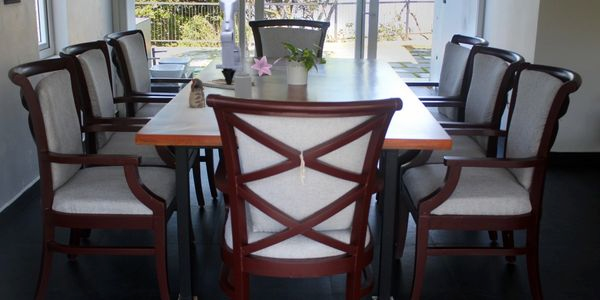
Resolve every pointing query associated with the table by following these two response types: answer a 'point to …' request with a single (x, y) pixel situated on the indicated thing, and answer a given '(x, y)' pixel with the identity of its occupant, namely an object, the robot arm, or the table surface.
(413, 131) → the table surface
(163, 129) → the table surface
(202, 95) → the figurine
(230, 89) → the underlay mat
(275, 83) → the table surface
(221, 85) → the plank
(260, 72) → the lily
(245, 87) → the can
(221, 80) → the laid plank
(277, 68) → the table surface
